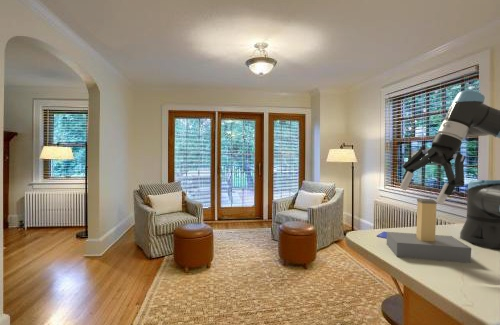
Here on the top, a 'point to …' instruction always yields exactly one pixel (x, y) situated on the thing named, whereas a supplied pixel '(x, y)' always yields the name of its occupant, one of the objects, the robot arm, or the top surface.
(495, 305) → the top surface
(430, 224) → the plug
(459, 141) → the robot arm
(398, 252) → the socket block
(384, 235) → the hard drive
